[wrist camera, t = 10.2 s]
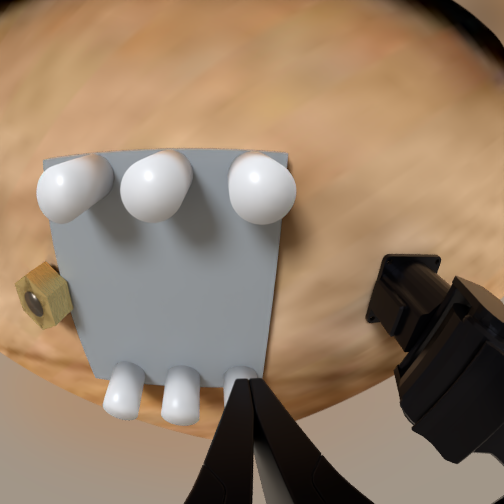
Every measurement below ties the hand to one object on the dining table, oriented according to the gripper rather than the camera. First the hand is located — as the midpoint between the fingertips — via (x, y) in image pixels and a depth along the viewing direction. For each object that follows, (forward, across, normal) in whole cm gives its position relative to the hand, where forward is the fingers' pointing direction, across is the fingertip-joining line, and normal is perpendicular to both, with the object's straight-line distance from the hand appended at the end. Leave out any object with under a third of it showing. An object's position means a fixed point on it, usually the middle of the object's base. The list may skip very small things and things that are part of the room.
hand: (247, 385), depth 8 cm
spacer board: (+12, +5, +4) cm, 14 cm away
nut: (+11, +14, +4) cm, 19 cm away
